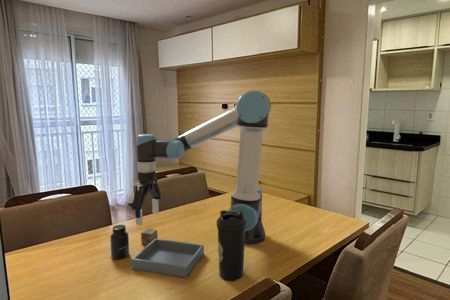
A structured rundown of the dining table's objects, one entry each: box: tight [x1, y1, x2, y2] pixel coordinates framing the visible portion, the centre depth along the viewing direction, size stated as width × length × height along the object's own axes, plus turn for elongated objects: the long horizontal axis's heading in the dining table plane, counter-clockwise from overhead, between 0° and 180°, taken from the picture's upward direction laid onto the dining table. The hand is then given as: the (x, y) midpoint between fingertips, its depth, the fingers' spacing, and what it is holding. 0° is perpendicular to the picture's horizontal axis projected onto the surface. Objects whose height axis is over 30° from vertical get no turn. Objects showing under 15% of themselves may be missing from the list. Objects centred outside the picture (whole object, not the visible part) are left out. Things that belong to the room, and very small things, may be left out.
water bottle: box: [216, 209, 246, 282], centre depth 104 cm, size 10×10×23 cm
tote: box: [130, 238, 205, 279], centre depth 114 cm, size 22×18×4 cm
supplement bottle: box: [110, 224, 130, 260], centre depth 119 cm, size 7×7×12 cm
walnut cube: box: [140, 227, 158, 245], centre depth 131 cm, size 5×5×5 cm
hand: (147, 218), depth 130 cm, fingers open, 13 cm apart
